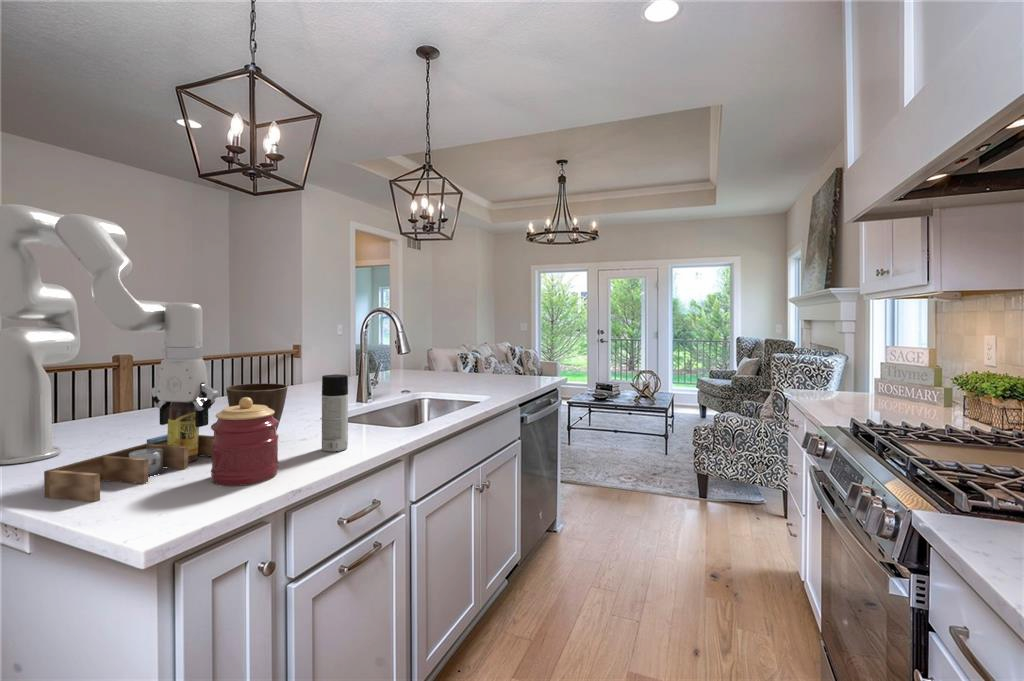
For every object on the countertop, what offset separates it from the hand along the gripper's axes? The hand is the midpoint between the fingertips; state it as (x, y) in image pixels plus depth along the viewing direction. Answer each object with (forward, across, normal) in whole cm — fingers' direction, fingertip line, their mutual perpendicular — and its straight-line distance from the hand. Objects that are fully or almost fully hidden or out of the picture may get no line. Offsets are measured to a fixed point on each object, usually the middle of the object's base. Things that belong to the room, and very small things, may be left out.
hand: (184, 424), depth 114 cm
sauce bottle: (+9, 0, 0) cm, 9 cm away
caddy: (+9, 0, -10) cm, 13 cm away
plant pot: (+9, +6, +18) cm, 21 cm away
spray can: (+9, +29, +18) cm, 35 cm away
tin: (+9, 0, -10) cm, 13 cm away
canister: (+9, +22, -7) cm, 25 cm away
